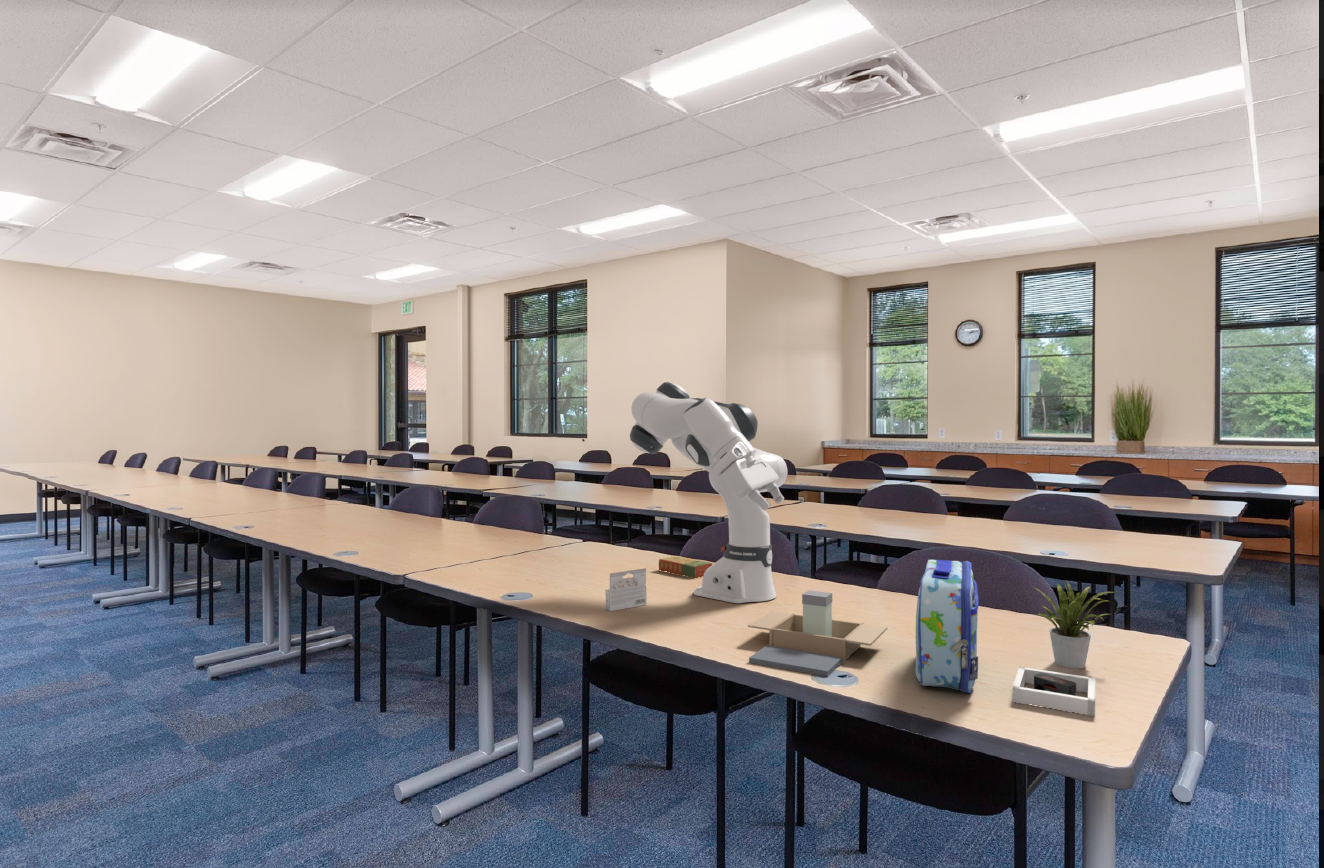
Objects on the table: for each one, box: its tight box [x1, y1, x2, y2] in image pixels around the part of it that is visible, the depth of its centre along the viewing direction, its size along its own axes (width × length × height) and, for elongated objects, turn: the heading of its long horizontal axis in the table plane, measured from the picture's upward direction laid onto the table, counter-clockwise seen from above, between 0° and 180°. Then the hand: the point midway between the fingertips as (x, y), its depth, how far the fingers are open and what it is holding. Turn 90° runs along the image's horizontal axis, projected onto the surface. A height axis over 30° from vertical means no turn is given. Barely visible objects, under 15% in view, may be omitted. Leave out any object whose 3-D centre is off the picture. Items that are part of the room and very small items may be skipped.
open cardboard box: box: [747, 610, 888, 661], centre depth 156 cm, size 26×14×4 cm, turn 59°
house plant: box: [1032, 580, 1114, 670], centre depth 141 cm, size 14×14×16 cm
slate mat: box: [748, 644, 843, 677], centre depth 145 cm, size 16×9×1 cm, turn 59°
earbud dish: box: [1011, 666, 1096, 717], centre depth 126 cm, size 12×12×2 cm
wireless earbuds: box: [1025, 673, 1077, 696], centre depth 126 cm, size 5×7×3 cm, turn 35°
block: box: [801, 589, 833, 637], centre depth 156 cm, size 5×4×11 cm
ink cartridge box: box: [604, 567, 648, 612], centre depth 188 cm, size 2×11×10 cm, turn 123°
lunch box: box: [915, 559, 980, 694], centre depth 137 cm, size 26×11×21 cm, turn 157°
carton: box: [658, 555, 713, 579], centre depth 229 cm, size 8×16×4 cm, turn 44°
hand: (774, 504), depth 163 cm, fingers open, 8 cm apart
